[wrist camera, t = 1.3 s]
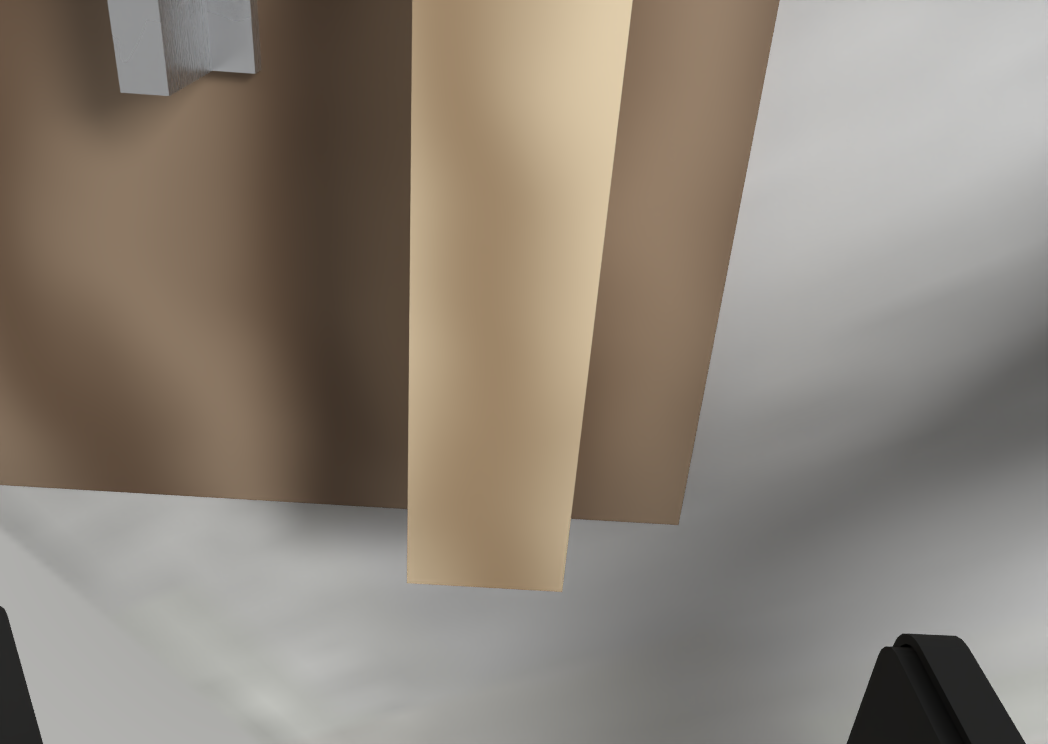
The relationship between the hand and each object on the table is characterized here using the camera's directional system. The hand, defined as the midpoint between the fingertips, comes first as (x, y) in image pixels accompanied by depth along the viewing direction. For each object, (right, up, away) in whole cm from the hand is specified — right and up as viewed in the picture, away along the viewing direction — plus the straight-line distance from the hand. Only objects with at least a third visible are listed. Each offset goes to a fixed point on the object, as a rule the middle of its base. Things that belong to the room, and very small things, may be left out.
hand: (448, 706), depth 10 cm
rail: (0, +8, +13) cm, 16 cm away
